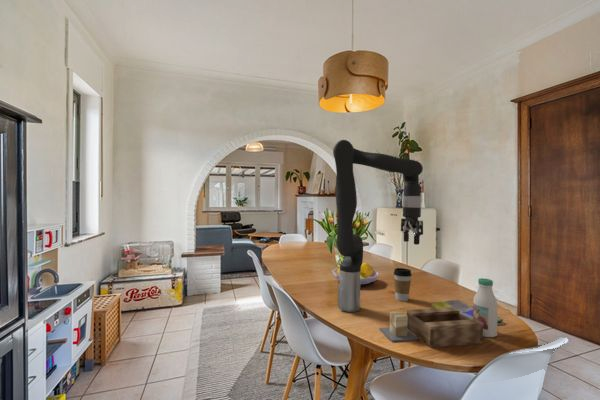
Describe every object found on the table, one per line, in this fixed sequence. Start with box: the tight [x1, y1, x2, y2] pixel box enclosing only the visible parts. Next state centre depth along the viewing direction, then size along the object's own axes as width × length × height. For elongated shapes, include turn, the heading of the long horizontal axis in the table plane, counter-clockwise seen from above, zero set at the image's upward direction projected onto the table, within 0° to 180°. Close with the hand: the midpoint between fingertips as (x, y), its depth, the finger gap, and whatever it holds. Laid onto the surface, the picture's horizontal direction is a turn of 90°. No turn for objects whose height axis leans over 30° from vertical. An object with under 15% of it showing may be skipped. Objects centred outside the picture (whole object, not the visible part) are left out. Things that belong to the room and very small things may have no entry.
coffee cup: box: [393, 267, 412, 302], centre depth 147 cm, size 8×8×15 cm
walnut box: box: [406, 307, 484, 349], centre depth 109 cm, size 20×15×7 cm
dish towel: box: [430, 299, 505, 327], centre depth 129 cm, size 18×24×3 cm
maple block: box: [389, 310, 408, 336], centre depth 109 cm, size 4×4×7 cm
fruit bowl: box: [331, 262, 380, 286], centre depth 178 cm, size 28×27×11 cm
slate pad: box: [378, 326, 419, 343], centre depth 109 cm, size 10×10×1 cm
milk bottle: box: [472, 277, 498, 338], centre depth 111 cm, size 8×8×20 cm
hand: (411, 242), depth 133 cm, fingers open, 8 cm apart
